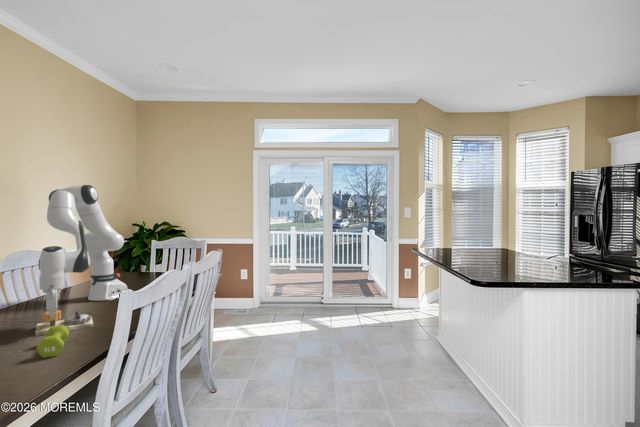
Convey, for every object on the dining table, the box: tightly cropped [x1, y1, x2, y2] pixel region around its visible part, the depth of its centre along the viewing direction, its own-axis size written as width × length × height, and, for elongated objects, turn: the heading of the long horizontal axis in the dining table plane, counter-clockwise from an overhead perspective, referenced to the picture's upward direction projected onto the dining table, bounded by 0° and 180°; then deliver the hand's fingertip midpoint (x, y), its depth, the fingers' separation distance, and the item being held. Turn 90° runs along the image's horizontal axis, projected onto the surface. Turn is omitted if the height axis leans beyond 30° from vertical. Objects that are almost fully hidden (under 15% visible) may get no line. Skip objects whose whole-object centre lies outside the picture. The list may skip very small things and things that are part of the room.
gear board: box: [35, 310, 94, 337], centre depth 152 cm, size 20×13×6 cm, turn 128°
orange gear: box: [41, 309, 62, 322], centre depth 149 cm, size 7×7×3 cm
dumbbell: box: [36, 325, 70, 359], centre depth 128 cm, size 16×8×7 cm, turn 29°
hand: (51, 315), depth 149 cm, fingers closed on orange gear, 7 cm apart
